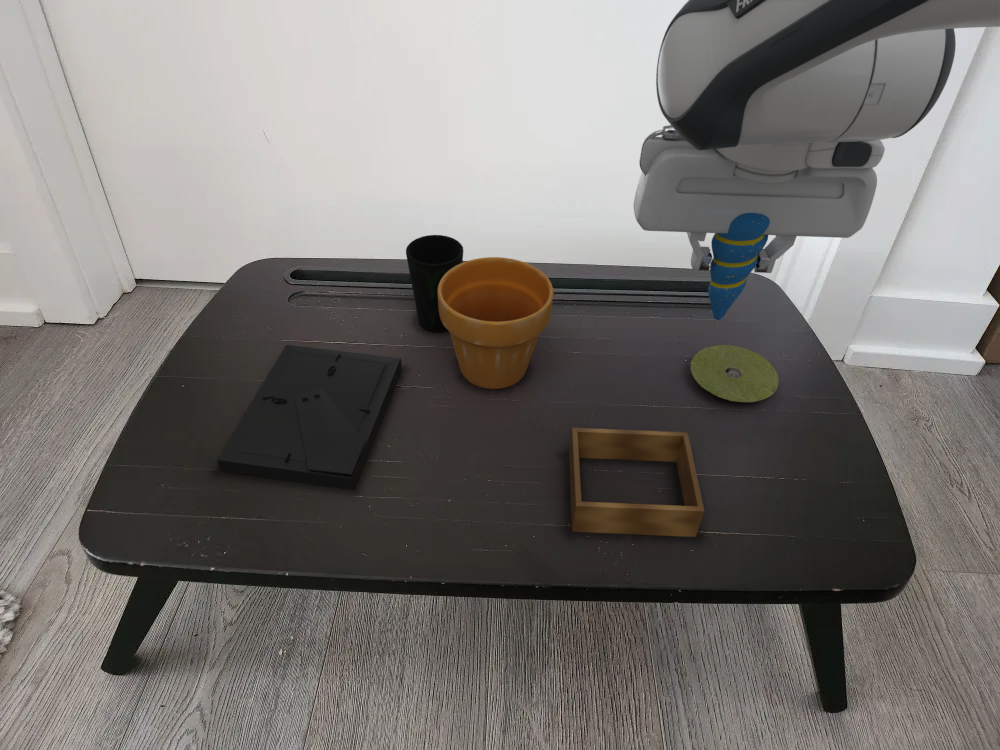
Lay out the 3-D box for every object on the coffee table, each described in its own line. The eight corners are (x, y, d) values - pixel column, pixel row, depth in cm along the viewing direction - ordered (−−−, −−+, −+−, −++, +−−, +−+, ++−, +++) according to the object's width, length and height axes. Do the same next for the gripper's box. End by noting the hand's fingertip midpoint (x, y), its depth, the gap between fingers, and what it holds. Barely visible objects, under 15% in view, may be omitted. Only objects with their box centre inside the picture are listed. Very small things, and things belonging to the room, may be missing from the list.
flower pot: (549, 339, 102) (555, 260, 93) (543, 408, 91) (550, 327, 83) (449, 331, 103) (447, 252, 94) (433, 399, 92) (428, 318, 83)
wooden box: (680, 458, 85) (687, 432, 82) (695, 537, 77) (704, 511, 74) (568, 453, 86) (571, 427, 83) (572, 532, 77) (576, 505, 74)
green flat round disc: (792, 388, 95) (796, 377, 94) (738, 425, 90) (742, 414, 88) (723, 345, 102) (727, 334, 100) (670, 377, 96) (672, 366, 95)
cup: (443, 299, 108) (441, 228, 100) (475, 323, 104) (474, 252, 96) (401, 318, 105) (394, 246, 97) (431, 344, 100) (427, 271, 92)
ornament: (743, 337, 71) (787, 201, 61) (690, 331, 72) (725, 194, 62) (739, 307, 75) (780, 173, 65) (689, 301, 76) (722, 167, 66)
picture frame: (354, 490, 81) (401, 370, 96) (351, 473, 79) (400, 353, 94) (221, 471, 83) (288, 356, 98) (215, 455, 81) (285, 340, 96)
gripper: (650, 141, 58) (625, 283, 67) (906, 149, 58) (846, 291, 67) (640, 109, 62) (619, 246, 72) (877, 117, 62) (825, 254, 72)
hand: (730, 268), depth 69 cm, fingers closed on ornament, 4 cm apart
